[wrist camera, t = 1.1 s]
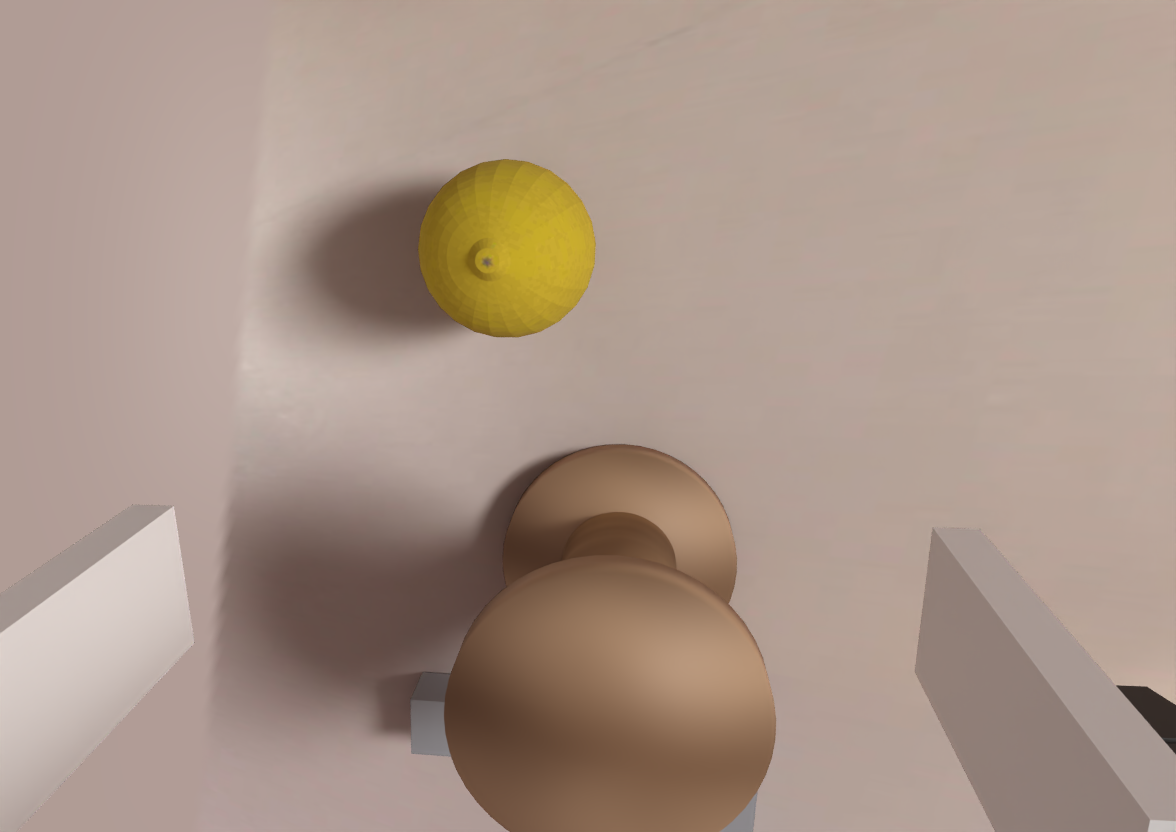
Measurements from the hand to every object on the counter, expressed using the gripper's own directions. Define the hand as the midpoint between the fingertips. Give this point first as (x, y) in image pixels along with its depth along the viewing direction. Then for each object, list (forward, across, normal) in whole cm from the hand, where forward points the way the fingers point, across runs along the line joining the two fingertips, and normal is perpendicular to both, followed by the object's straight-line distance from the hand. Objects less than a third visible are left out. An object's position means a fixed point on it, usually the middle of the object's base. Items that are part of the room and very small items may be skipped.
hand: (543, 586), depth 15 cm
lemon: (+18, -3, +4) cm, 19 cm away
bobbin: (+18, +1, -8) cm, 20 cm away
